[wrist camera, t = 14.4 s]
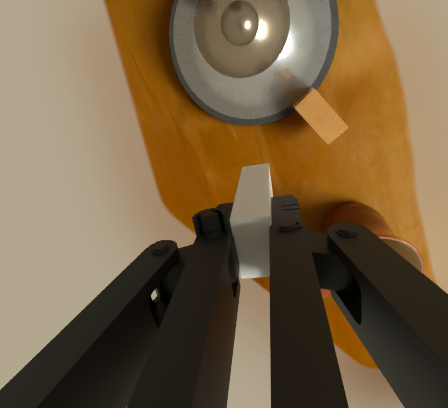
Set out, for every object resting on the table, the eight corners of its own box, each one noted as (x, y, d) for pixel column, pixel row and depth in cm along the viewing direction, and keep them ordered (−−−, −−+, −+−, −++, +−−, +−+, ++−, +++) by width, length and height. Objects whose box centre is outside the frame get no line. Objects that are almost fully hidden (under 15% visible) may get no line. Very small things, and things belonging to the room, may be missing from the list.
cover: (186, 34, 29) (169, 26, 24) (244, -44, 26) (239, -71, 21) (244, 94, 30) (239, 99, 25) (305, 28, 27) (313, 19, 22)
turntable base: (154, -35, 30) (149, -40, 28) (331, -87, 26) (335, -95, 25) (192, 134, 36) (189, 136, 35) (338, 109, 33) (341, 111, 31)
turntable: (149, 43, 31) (134, 40, 27) (252, -102, 25) (249, -129, 22) (278, 174, 35) (280, 186, 31) (393, 74, 29) (409, 75, 26)
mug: (365, 181, 36) (400, 220, 26) (397, 233, 38) (440, 286, 29) (280, 228, 40) (285, 275, 31) (314, 273, 42) (327, 330, 33)
